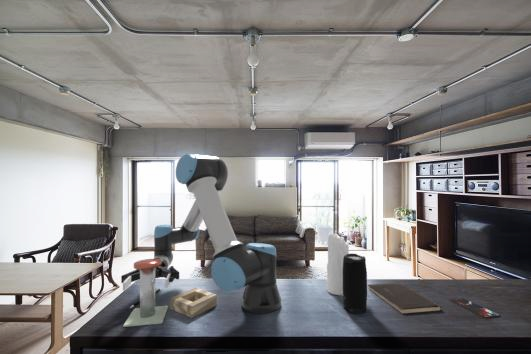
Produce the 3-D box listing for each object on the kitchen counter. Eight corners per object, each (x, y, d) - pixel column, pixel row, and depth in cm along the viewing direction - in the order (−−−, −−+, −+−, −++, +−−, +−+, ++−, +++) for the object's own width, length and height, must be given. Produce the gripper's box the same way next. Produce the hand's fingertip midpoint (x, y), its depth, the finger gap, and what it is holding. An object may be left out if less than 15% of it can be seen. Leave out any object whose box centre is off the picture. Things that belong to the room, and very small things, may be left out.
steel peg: (166, 312, 95) (166, 261, 96) (142, 323, 88) (142, 267, 89) (152, 306, 101) (152, 257, 101) (128, 316, 93) (128, 263, 94)
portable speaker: (345, 315, 94) (344, 259, 95) (340, 303, 104) (340, 252, 104) (370, 316, 94) (369, 259, 94) (363, 304, 103) (362, 252, 103)
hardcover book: (401, 315, 95) (401, 308, 95) (367, 289, 118) (367, 284, 118) (441, 312, 98) (441, 305, 98) (401, 287, 120) (400, 282, 120)
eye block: (216, 304, 103) (216, 294, 103) (192, 318, 93) (192, 306, 93) (195, 297, 110) (195, 287, 110) (170, 308, 100) (170, 298, 100)
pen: (162, 289, 119) (162, 287, 119) (130, 309, 100) (130, 306, 100) (160, 289, 119) (160, 287, 119) (128, 309, 100) (128, 306, 100)
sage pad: (168, 307, 101) (168, 305, 101) (162, 323, 89) (162, 321, 89) (134, 309, 99) (134, 308, 99) (123, 327, 87) (123, 325, 87)
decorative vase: (348, 285, 121) (348, 230, 122) (354, 295, 111) (353, 235, 111) (324, 285, 122) (323, 230, 123) (327, 294, 112) (326, 234, 112)
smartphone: (462, 297, 108) (501, 315, 93) (462, 299, 108) (501, 317, 93) (447, 299, 106) (484, 317, 92) (447, 301, 106) (484, 319, 92)
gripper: (189, 273, 114) (183, 293, 94) (126, 277, 110) (105, 299, 89) (189, 255, 115) (183, 271, 94) (126, 259, 110) (105, 276, 89)
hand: (145, 285), depth 91 cm, fingers open, 13 cm apart
